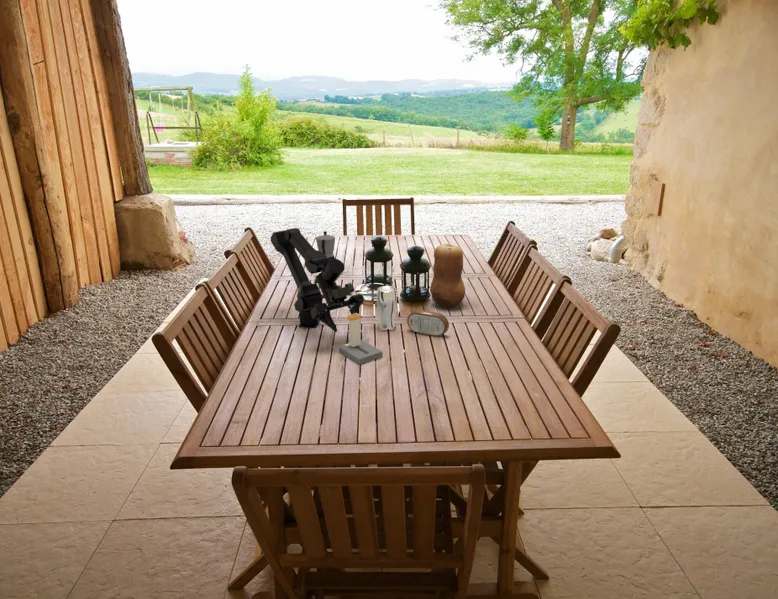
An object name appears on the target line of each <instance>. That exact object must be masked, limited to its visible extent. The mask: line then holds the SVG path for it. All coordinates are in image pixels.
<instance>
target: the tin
mask: <svg viewBox="0 0 778 599" xmlns="http://www.w3.org/2000/svg"><path fill="white" fill-rule="evenodd" d="M406 322H407V326H408V328H409V329H410V330H411V331H412V332H414V333H415V332H417V333H416V334H419V333H422V334H421V335H425V334H427V336H430V337H431V336H432V337H436V336H437V337H441V336H443V335H444V334H446V333H447V332H448V330H449V326H450V323H449V320H448V318H447V317H446V316H445V315H444V314H442V313H440V312H435V311H429V310H425V309H414V310H412V311H411V313H410V314H409V315H408V316H407V321H406Z"/></svg>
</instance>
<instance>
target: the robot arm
mask: <svg viewBox="0 0 778 599" xmlns="http://www.w3.org/2000/svg"><path fill="white" fill-rule="evenodd" d="M270 243H271V244H272V245H273V247H274V249H275V251H276V252H278V253H279V254H281V255H282V256H283V258H284V261H285V262H286V265H287V267H288V269H289V272H290V273H291V276H292V278H293V281H294V283H295V284H296V287H297V292H296V301H295V302H294V309H295V311H296V312H298V313H299V325H298V328H308V329H316V328H317V327H318V325H319V324H320V322H321V323H323V324H325V325H326V327H329V329H331V330H332V331H333V332H335V333H337V332H338V328H337V325H336V323H335V322H334V319H333V318H332V314H331V311H335V310H338V309H342V308H346V307H347V308H349V310H348V311H349V313H350V315H351V314H355V313H358V314H360V308H361V305H363V302H364V301H365V300H366V298H365V297H364V295H363V294H361V293H357V294H352V293H354V292H355V288H354V285H353V283H352V282H349V283H345V284H344V287H343V286H341V285H338V284H337V282H336V281H337V280H338V279H339V278H340V277H341V275H342V274H343V272H344V271H345V269H346V268H345V264H344V262H342V260H340V259H338V258H336V257H335V255H334V256H331V257H329V258H328V257H327V256H326V255H325V254H323V253H322V252H320V251H318V250H317V249H315V248H314V247H313V246H312V245H311V243H310V242H309V241H308V239H306V238H305V236H304V235H303V234H302V233H301V230H300V228H297V227H294V228H288V229H285V230H279V231H273V233H272V234H271V235H270ZM298 254H299V255H300V256H301V257H302V258H303V261H304V266H303V264H302V262H301V259H300V257H299V255H298ZM304 267H305V268H306V270H305V268H304ZM306 271H308V273H309V274H312V275H315V274H317V273H318V274H317V275H315V278H314V280H313V281H314V282H313V283H312V282H311V281H310V278H309V277H308V275H307V273H306ZM348 296H350V297H349V298H348ZM347 298H348V299H347ZM324 299H325V302H323V300H324ZM346 299H347V300H346ZM360 315H361V314H360ZM360 325H361V322H360Z"/></svg>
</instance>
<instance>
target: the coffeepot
mask: <svg viewBox="0 0 778 599" xmlns="http://www.w3.org/2000/svg"><path fill="white" fill-rule="evenodd" d="M327 232H328V231H323V234H322V235H319V236H316V237H315V240H316V246H317V249H318V250H317V251H320V252H322V253H323V254H325V255H326V256H327V257H328V258H329V257H331V256H334V257H335V254H334V251H335V245H336V237H335V236H334V235H329V234H328V233H327Z"/></svg>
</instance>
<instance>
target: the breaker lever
mask: <svg viewBox="0 0 778 599" xmlns="http://www.w3.org/2000/svg"><path fill="white" fill-rule="evenodd" d="M361 319H362V315H361V314H358V313H355V314H351V313H350V314H347V320H348V332H349V333H348V336H349V338H348V340H349V343H350V346H352V347H355V346H359V345H361V341H360V340H361V324H360V323H361Z"/></svg>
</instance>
